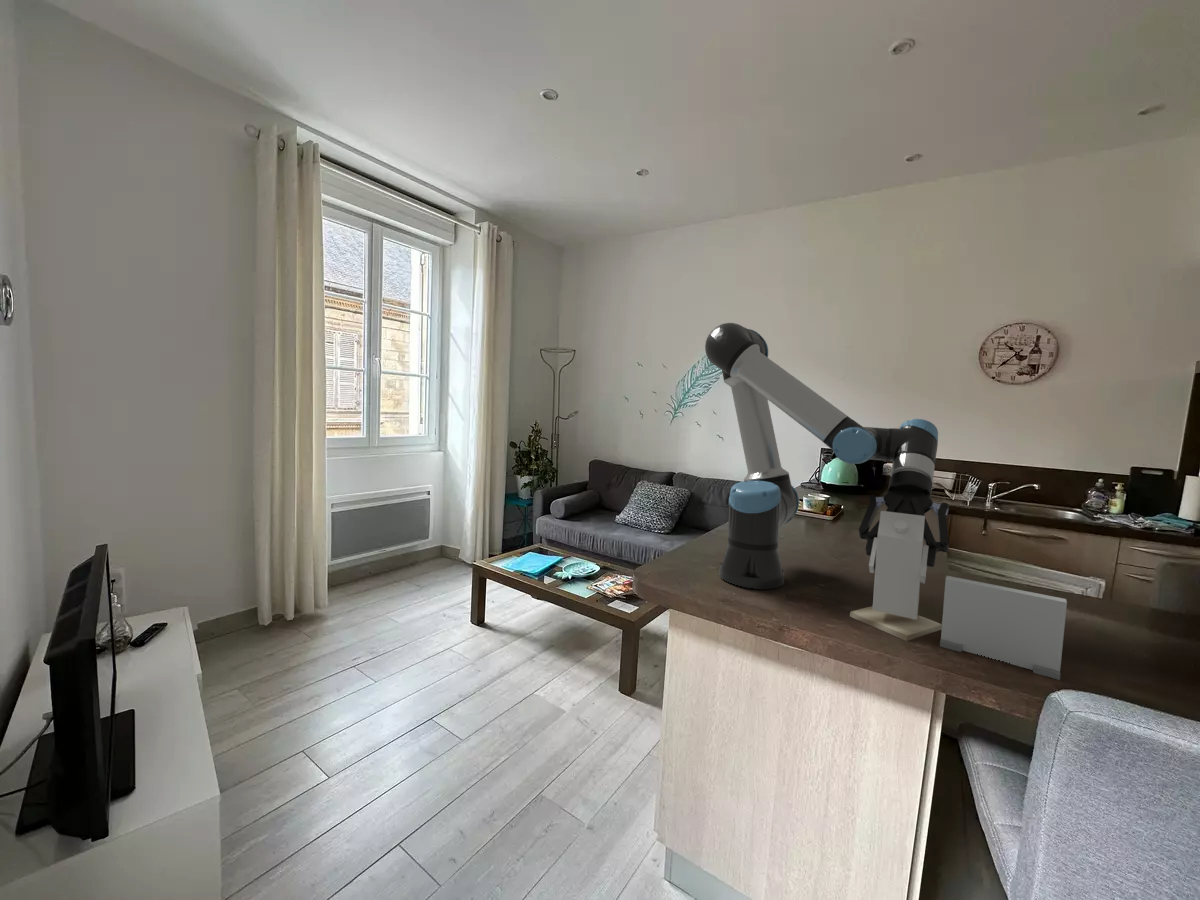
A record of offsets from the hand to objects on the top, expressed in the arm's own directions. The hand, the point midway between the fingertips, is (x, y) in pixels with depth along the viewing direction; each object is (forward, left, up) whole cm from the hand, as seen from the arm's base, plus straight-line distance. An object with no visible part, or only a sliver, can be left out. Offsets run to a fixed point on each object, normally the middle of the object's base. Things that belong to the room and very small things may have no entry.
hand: (896, 574), depth 87 cm
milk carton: (-1, +3, -8) cm, 9 cm away
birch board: (-1, +3, -11) cm, 11 cm away
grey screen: (+14, +6, -11) cm, 18 cm away
